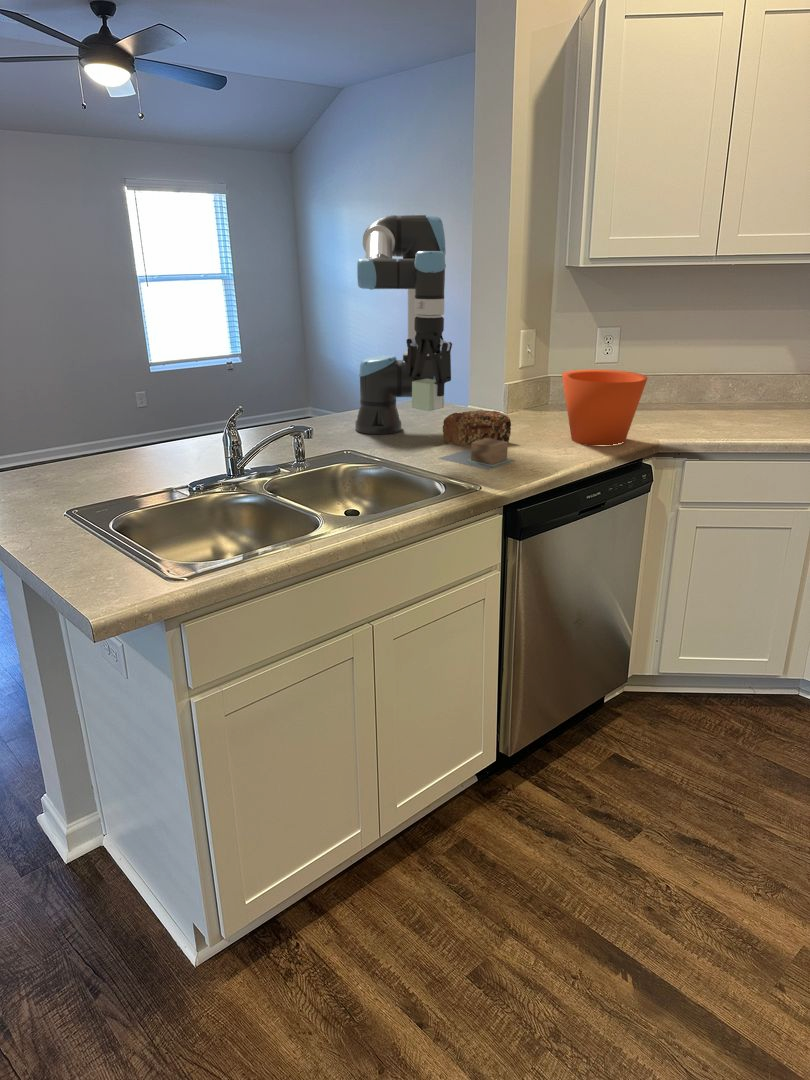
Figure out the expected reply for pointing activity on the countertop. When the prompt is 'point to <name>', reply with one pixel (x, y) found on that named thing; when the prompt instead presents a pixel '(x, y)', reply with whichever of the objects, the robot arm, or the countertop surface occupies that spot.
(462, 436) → the bread
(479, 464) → the build mat
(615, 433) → the flowerpot
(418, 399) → the green block
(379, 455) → the countertop surface
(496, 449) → the walnut base
